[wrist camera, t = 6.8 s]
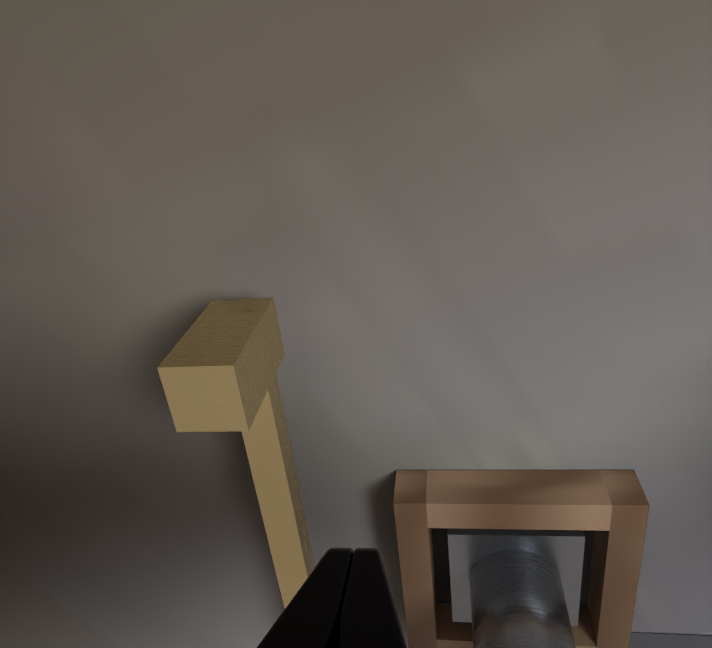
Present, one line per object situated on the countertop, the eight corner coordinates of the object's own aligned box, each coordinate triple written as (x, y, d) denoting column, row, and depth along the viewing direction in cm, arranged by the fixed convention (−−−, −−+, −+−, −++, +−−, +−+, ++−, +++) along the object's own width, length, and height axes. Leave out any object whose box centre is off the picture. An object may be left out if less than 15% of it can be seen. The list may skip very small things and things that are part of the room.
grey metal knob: (576, 506, 23) (643, 743, 15) (570, 594, 25) (626, 838, 18) (447, 505, 24) (450, 730, 16) (452, 590, 26) (457, 823, 18)
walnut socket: (634, 469, 22) (649, 505, 20) (613, 627, 26) (625, 667, 24) (396, 470, 23) (393, 503, 22) (411, 619, 27) (409, 656, 25)
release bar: (273, 297, 18) (233, 365, 14) (339, 646, 25) (323, 748, 22) (211, 300, 18) (156, 367, 15) (294, 644, 26) (271, 743, 22)
